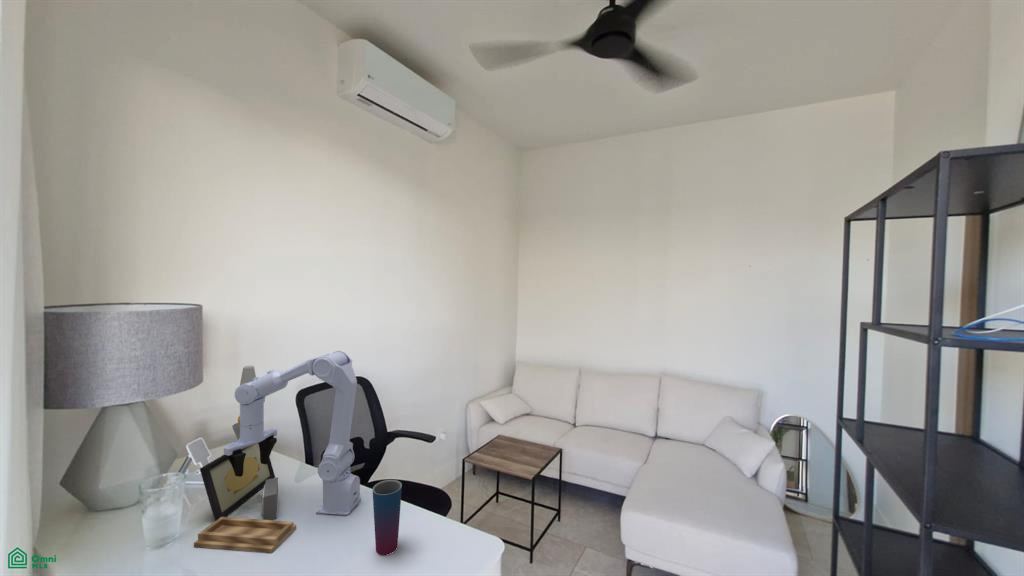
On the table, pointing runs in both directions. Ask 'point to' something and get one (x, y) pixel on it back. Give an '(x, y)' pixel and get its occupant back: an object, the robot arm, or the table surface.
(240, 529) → the wooden tray
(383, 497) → the cup
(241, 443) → the robot arm
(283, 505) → the table surface
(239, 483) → the picture frame
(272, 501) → the grey rectangular prism
